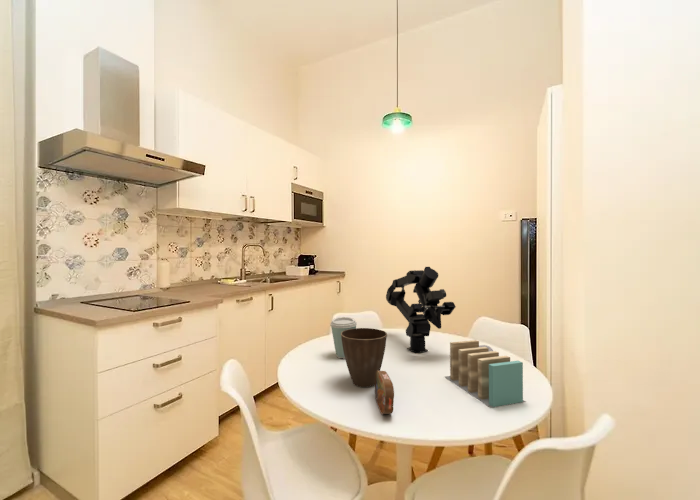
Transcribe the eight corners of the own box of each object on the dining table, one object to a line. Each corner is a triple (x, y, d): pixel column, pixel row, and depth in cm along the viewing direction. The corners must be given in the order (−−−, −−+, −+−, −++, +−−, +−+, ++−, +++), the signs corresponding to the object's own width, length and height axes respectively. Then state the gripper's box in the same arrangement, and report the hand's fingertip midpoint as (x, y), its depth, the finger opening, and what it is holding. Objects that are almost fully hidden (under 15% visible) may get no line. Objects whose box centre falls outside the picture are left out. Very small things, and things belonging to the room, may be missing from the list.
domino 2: (458, 384, 99) (458, 349, 99) (485, 380, 102) (485, 346, 102) (461, 386, 97) (461, 351, 97) (488, 382, 100) (488, 348, 100)
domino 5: (488, 404, 86) (488, 364, 86) (518, 399, 89) (518, 360, 89) (493, 407, 84) (492, 366, 84) (522, 402, 87) (522, 362, 87)
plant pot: (331, 381, 102) (331, 332, 102) (365, 370, 112) (365, 325, 112) (362, 397, 91) (362, 342, 91) (396, 383, 100) (396, 333, 100)
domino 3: (467, 390, 94) (467, 353, 94) (495, 386, 97) (495, 350, 97) (471, 392, 93) (471, 355, 93) (499, 388, 96) (498, 352, 96)
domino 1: (450, 378, 103) (450, 342, 103) (475, 375, 106) (475, 339, 106) (453, 380, 101) (453, 343, 102) (479, 377, 104) (478, 341, 104)
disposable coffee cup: (356, 361, 121) (356, 322, 121) (329, 360, 121) (329, 322, 121) (356, 352, 132) (356, 316, 132) (331, 352, 132) (331, 316, 132)
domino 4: (477, 397, 90) (477, 358, 90) (506, 392, 93) (506, 355, 93) (481, 399, 89) (481, 360, 89) (510, 394, 91) (510, 357, 91)
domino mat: (443, 377, 105) (443, 376, 105) (474, 373, 108) (474, 372, 108) (490, 409, 84) (490, 408, 84) (526, 403, 87) (526, 401, 87)
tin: (373, 394, 93) (373, 365, 93) (384, 393, 94) (384, 365, 94) (383, 421, 78) (383, 387, 78) (395, 420, 78) (395, 387, 79)
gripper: (410, 283, 120) (425, 317, 110) (452, 281, 126) (470, 314, 115) (401, 300, 128) (414, 334, 117) (441, 298, 133) (457, 330, 123)
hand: (440, 328), depth 118 cm, fingers closed
